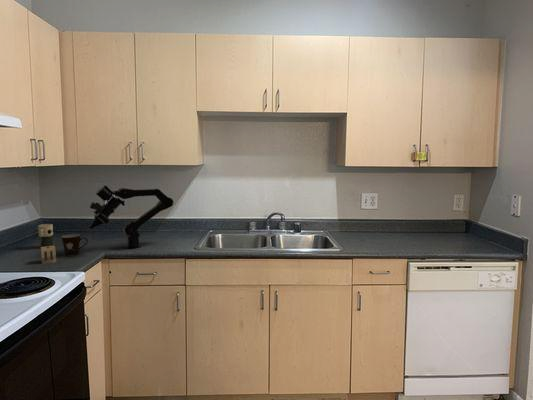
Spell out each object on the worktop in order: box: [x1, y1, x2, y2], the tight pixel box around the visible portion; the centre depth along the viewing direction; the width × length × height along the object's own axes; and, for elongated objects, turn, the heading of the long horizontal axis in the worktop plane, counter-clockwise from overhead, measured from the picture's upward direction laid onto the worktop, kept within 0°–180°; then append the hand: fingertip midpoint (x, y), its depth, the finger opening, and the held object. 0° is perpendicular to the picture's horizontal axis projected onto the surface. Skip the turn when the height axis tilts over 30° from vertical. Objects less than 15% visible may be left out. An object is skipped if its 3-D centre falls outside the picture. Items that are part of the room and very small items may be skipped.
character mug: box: [37, 223, 54, 248], centre depth 217 cm, size 11×7×13 cm, turn 3°
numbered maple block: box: [40, 245, 57, 265], centre depth 188 cm, size 6×6×7 cm
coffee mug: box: [61, 233, 89, 256], centre depth 201 cm, size 12×9×10 cm
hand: (89, 228), depth 204 cm, fingers closed
